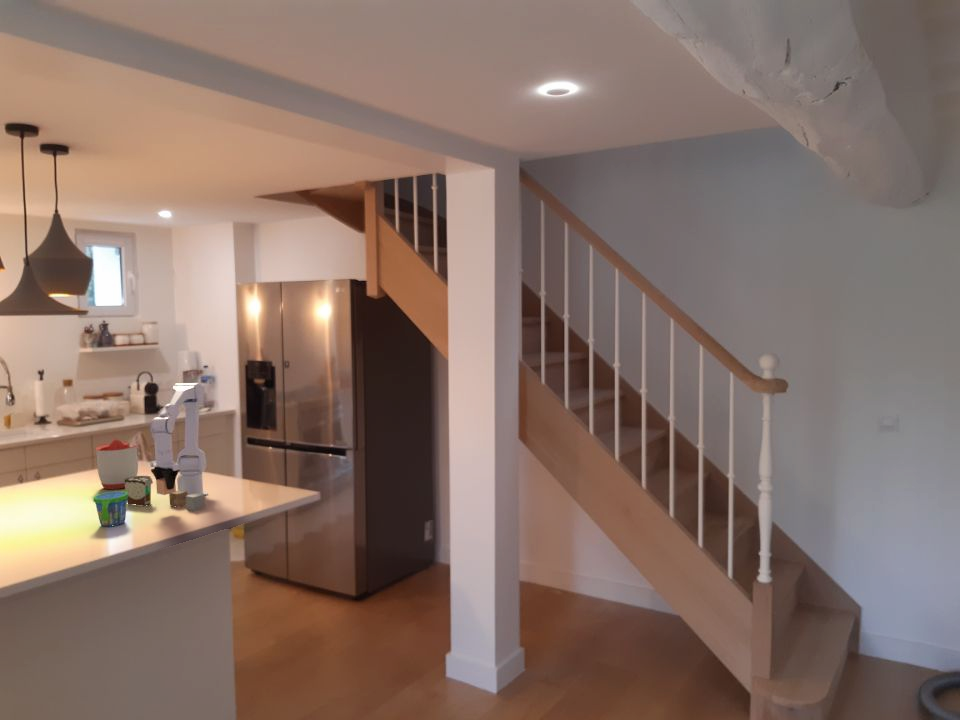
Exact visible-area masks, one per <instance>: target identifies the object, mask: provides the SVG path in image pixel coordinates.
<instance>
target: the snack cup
mask: <svg viewBox="0 0 960 720" xmlns="http://www.w3.org/2000/svg"><path fill="white" fill-rule="evenodd" d="M92 499H93V502H94V504H95V506H96V511H97V512H96V513H97V516H98V519H99V523H100V525H103V526H102V527H105V526H110V527H113V526H112V525H117V524H120V525H122V524H123V522H124V523H125V521H126V515H127V514H126V513H127V507H128V506H127V505H128V504H127V499H128V492H126V490H125V491H123V490H117V491H116V490H115V491H105V492H102V493H99V494H96V495H94V496H93V498H92ZM121 523H122V524H121ZM117 526H118V525H117Z"/></svg>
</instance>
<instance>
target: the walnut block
mask: <svg viewBox="0 0 960 720" xmlns="http://www.w3.org/2000/svg"><path fill="white" fill-rule="evenodd" d="M186 496H188V493H187V491H183V490H178V489H177V490H176V492H174V493H170V494H168V497H169V506H170V505H172V506H171V507H173V506H176V507H175V508H179V507H178V506H181V507H183V506H182V505H184V506H186Z"/></svg>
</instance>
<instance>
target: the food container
mask: <svg viewBox="0 0 960 720" xmlns="http://www.w3.org/2000/svg"><path fill="white" fill-rule="evenodd" d="M123 483H125V488H124V490H125V492H128V499H127V503H128V504H136V505H143V506H142V507H144V506H146V505H148V506H149V504H150V503H152V502H151V499H152V495H151V494H152V484H153V483H154V482H153V478H152V477H151V476H149V475H137V476H132V477H126V478H124V480H123ZM128 504H127V505H128ZM136 505H135V506H136ZM150 505H151V504H150ZM146 507H147V506H146Z"/></svg>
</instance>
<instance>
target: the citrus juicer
mask: <svg viewBox="0 0 960 720" xmlns="http://www.w3.org/2000/svg"><path fill="white" fill-rule="evenodd" d="M95 451H96V452H95V453H96V465H97V474H98V477H99V480H100V483H101V485H102V487H103V488H104V489H106V490H114V489H116V490H119V489H125V483H123V480H124V478H126V477H132V476H138V473H139V472H138V470H139V461H138V460H139V459H138V457H139V456H140V455H141V452H140V451H139V450H138V444H137V443H135V444H134V445H132V446H130V442H122V441H121V440H119V439H118V438H115V439H114V440H112V442H111V443H110V444H104V445H100V446H97V447H95Z"/></svg>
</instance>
